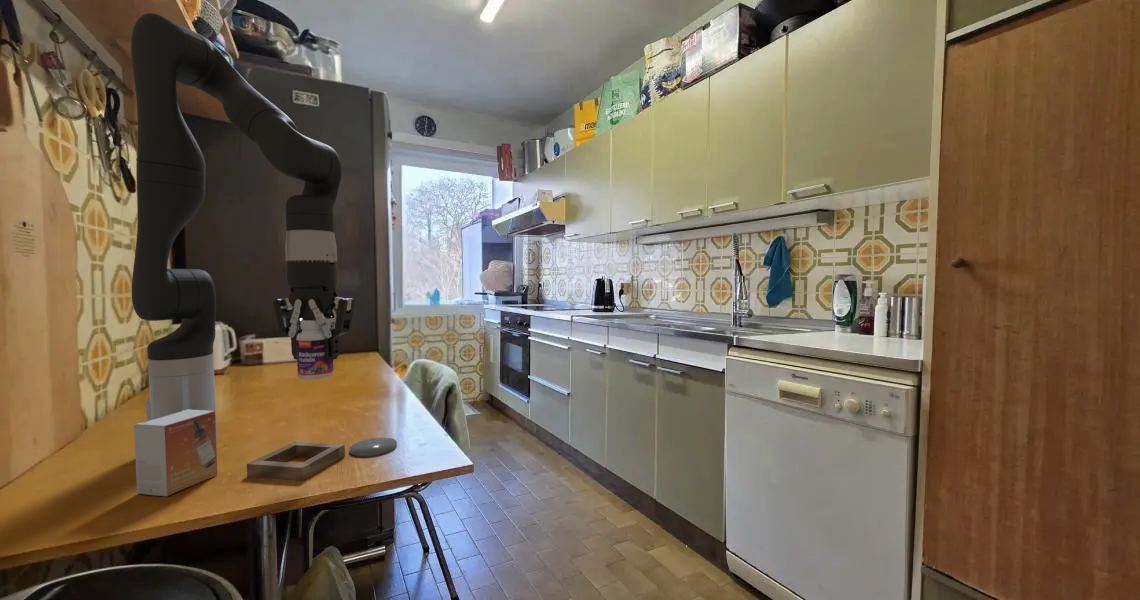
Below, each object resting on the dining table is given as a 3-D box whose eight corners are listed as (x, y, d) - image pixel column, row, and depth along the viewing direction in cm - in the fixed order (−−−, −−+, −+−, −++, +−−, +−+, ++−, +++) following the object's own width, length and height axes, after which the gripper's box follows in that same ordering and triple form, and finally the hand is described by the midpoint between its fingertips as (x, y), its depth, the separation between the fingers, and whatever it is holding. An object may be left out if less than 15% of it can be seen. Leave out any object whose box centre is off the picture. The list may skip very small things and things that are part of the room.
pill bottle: (294, 381, 74) (292, 321, 74) (301, 375, 79) (298, 319, 79) (331, 378, 76) (329, 320, 76) (335, 372, 81) (333, 317, 81)
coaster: (339, 455, 81) (339, 452, 81) (366, 439, 89) (366, 436, 89) (381, 458, 80) (381, 454, 80) (405, 441, 88) (404, 438, 88)
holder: (247, 476, 73) (246, 463, 73) (294, 452, 83) (294, 441, 83) (303, 480, 71) (302, 467, 71) (344, 455, 81) (344, 444, 81)
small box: (166, 498, 66) (162, 426, 65) (135, 494, 67) (131, 423, 66) (219, 474, 74) (216, 410, 73) (191, 472, 75) (188, 408, 74)
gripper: (256, 259, 75) (260, 362, 75) (334, 257, 72) (338, 364, 73) (292, 261, 82) (296, 355, 83) (364, 259, 79) (367, 356, 80)
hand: (315, 358), depth 78 cm, fingers closed on pill bottle, 5 cm apart
